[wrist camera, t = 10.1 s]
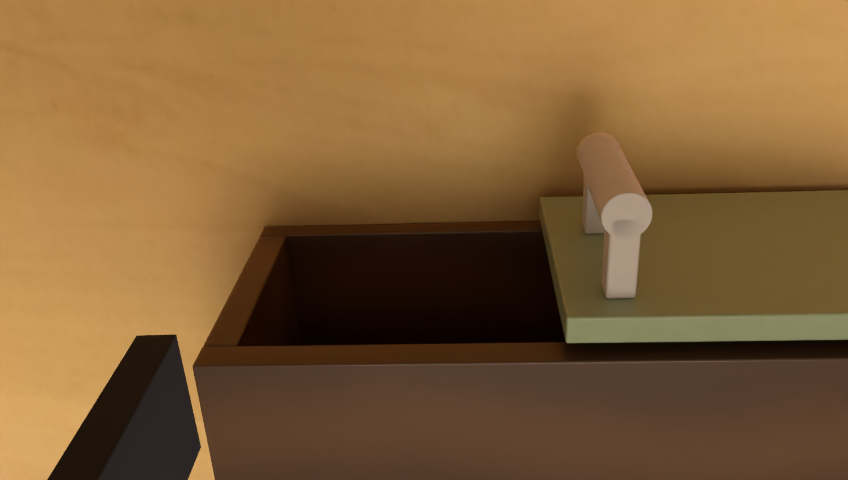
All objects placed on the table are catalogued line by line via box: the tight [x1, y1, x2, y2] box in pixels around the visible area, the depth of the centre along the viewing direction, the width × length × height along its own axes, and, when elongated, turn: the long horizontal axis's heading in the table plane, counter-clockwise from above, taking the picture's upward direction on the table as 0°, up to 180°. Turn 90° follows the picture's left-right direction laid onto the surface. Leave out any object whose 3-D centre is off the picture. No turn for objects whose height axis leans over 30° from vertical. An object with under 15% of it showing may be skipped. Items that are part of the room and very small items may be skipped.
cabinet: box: [193, 221, 848, 480], centre depth 34 cm, size 12×28×11 cm, turn 92°
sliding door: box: [539, 132, 848, 343], centre depth 29 cm, size 5×14×10 cm, turn 92°
